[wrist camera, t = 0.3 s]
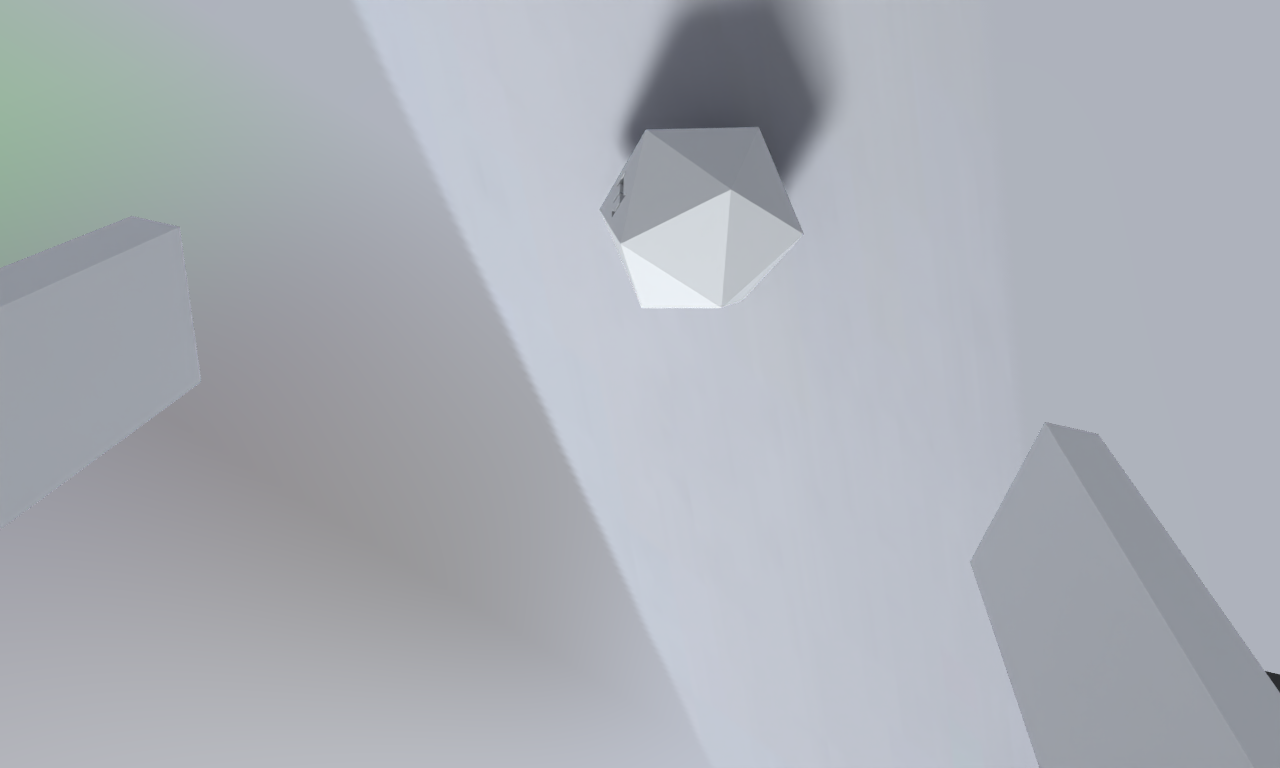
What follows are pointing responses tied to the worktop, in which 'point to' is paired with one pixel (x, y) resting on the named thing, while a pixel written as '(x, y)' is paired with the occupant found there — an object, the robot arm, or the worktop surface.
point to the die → (699, 216)
